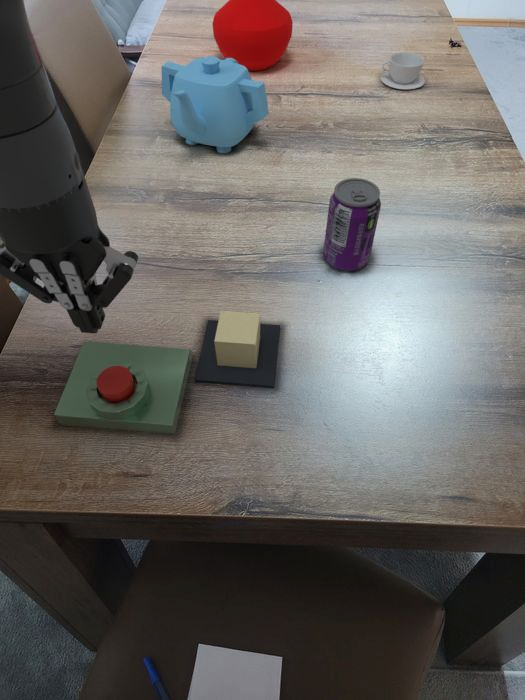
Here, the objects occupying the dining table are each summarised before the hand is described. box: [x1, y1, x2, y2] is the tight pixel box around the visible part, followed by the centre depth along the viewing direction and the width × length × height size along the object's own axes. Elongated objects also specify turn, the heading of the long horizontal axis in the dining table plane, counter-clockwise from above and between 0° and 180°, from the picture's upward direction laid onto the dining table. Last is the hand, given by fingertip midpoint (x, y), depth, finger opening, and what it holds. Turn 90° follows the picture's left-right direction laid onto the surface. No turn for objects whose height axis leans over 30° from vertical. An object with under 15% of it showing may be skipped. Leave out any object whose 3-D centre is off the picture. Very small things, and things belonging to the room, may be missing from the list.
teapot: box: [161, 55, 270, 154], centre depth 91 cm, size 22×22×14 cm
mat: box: [194, 319, 281, 389], centre depth 64 cm, size 10×10×1 cm
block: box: [214, 310, 261, 368], centre depth 62 cm, size 5×5×5 cm
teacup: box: [380, 51, 426, 90], centre depth 110 cm, size 10×10×5 cm
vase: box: [212, 0, 294, 72], centre depth 111 cm, size 18×18×19 cm
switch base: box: [53, 340, 193, 435], centre depth 60 cm, size 14×11×4 cm
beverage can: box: [322, 177, 382, 271], centre depth 71 cm, size 7×7×12 cm
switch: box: [96, 366, 135, 402], centre depth 56 cm, size 4×4×2 cm
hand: (92, 326), depth 49 cm, fingers closed
